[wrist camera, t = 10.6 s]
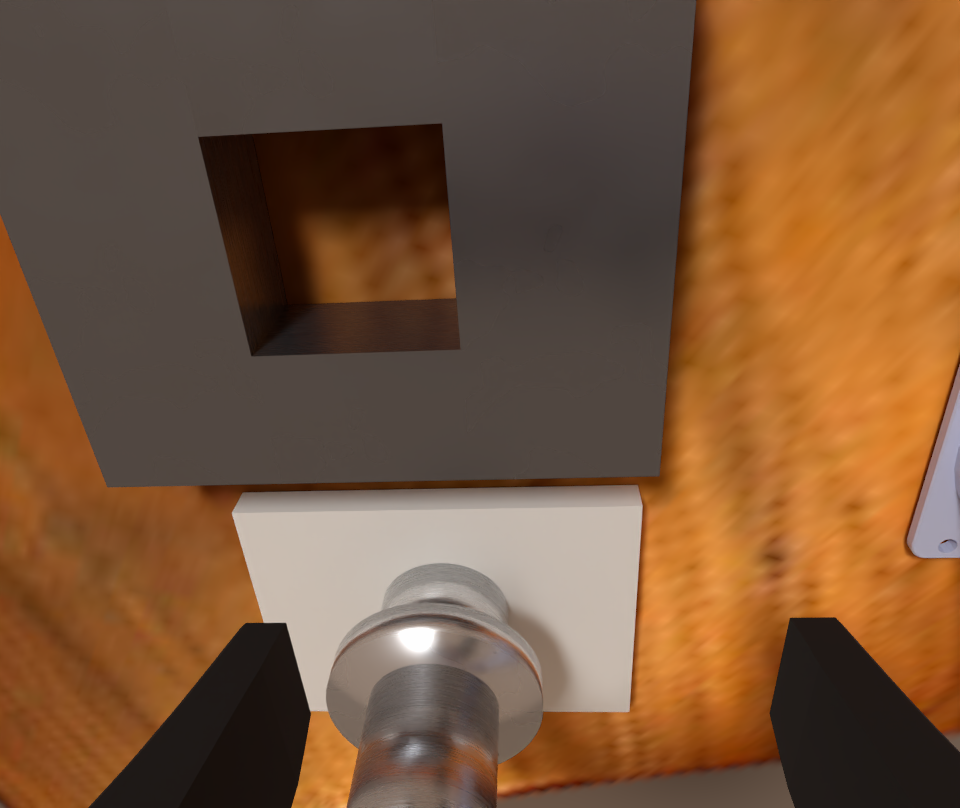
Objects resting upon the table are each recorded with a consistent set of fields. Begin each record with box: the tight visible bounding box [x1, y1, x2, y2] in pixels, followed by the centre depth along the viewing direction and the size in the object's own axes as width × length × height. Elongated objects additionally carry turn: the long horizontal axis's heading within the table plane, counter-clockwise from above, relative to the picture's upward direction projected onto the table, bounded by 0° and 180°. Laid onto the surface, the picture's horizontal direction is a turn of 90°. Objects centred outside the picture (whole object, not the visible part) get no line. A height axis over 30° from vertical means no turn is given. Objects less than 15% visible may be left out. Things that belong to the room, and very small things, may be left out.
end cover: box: [326, 563, 543, 808], centre depth 20 cm, size 6×6×9 cm
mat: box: [232, 485, 643, 712], centre depth 24 cm, size 12×9×1 cm
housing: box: [0, 0, 696, 487], centre depth 17 cm, size 14×12×3 cm
